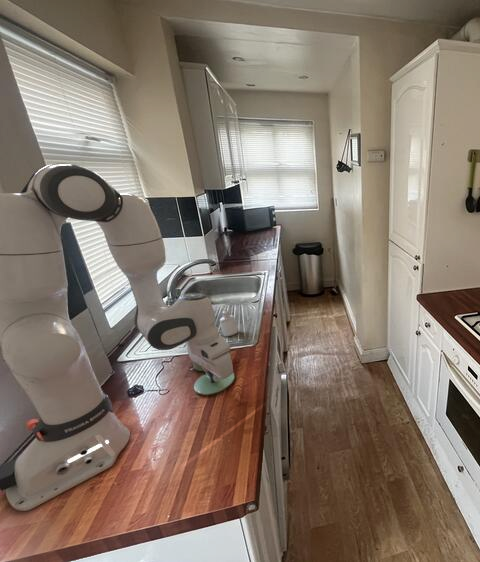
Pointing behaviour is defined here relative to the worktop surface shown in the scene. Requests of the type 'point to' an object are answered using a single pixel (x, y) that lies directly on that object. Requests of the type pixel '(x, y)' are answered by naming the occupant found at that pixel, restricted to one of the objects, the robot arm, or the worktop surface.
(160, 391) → the worktop surface
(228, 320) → the eye dropper bottle
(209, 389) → the lid
